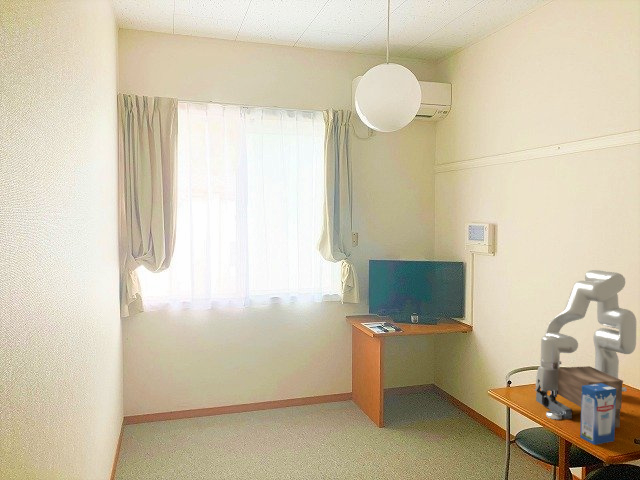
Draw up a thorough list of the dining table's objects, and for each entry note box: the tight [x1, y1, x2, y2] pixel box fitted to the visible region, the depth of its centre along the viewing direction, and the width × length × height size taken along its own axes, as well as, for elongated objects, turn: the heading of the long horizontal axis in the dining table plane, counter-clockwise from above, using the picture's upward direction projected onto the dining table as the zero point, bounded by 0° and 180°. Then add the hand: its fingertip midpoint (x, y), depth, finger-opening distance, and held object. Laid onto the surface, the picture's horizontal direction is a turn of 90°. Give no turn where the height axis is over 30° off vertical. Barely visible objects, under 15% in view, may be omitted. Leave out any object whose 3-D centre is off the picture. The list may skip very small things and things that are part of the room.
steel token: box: [545, 410, 563, 421], centre depth 202 cm, size 6×6×2 cm
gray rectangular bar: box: [535, 391, 573, 420], centre depth 209 cm, size 3×20×4 cm, turn 9°
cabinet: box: [557, 366, 624, 429], centre depth 199 cm, size 15×19×19 cm
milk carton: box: [579, 383, 616, 446], centre depth 181 cm, size 10×6×20 cm, turn 108°
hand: (548, 404), depth 213 cm, fingers closed on gray rectangular bar, 2 cm apart
